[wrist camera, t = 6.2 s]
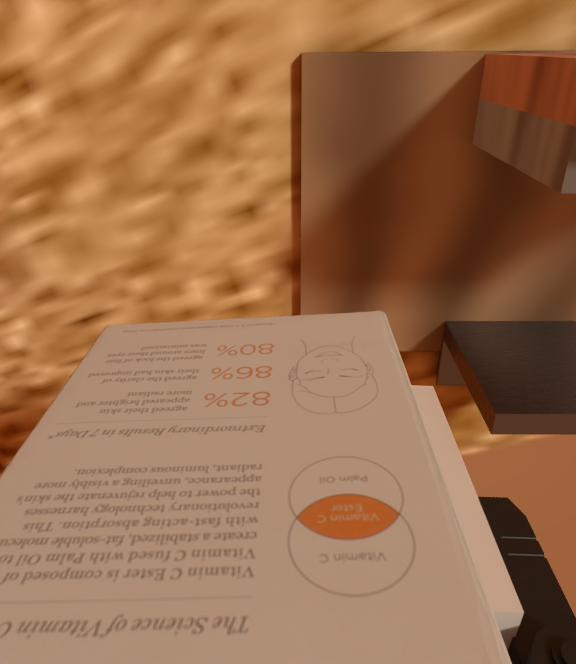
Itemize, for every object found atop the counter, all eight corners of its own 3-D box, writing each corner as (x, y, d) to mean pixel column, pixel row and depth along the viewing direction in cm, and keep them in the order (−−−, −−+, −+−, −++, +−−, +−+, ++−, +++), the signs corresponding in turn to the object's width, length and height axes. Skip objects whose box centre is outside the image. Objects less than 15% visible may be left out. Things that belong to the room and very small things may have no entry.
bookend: (435, 382, 35) (479, 486, 27) (445, 321, 33) (496, 414, 25) (557, 382, 35) (638, 487, 27) (574, 320, 33) (669, 414, 24)
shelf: (300, 346, 34) (303, 489, 23) (301, 52, 26) (306, 58, 15) (608, 346, 34) (758, 490, 23) (706, 49, 26) (1009, 53, 15)
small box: (141, 469, 17) (-40, 941, 8) (104, 317, 15) (-225, 755, 6) (385, 461, 17) (486, 947, 8) (390, 304, 15) (552, 750, 5)
